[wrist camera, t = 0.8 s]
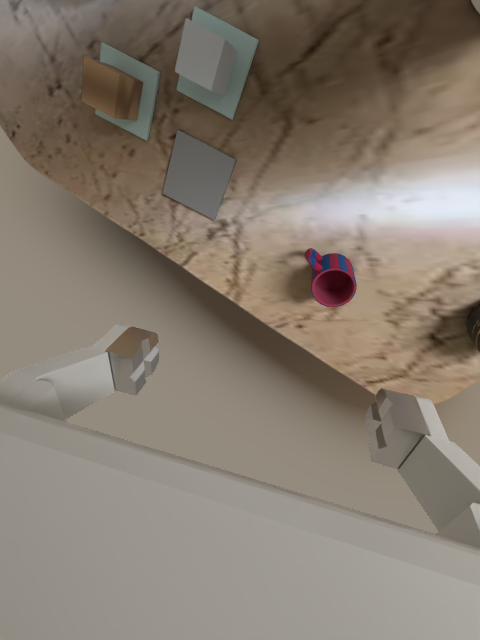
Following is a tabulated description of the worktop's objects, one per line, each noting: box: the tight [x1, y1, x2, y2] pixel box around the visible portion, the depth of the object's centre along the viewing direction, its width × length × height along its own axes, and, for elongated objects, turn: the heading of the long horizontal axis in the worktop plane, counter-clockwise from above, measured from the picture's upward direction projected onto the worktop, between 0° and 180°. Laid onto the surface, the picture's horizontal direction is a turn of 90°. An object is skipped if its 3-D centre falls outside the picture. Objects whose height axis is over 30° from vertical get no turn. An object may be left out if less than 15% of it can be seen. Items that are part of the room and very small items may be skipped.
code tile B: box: [176, 6, 259, 120], centre depth 39 cm, size 9×9×1 cm
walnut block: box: [81, 56, 143, 121], centre depth 41 cm, size 5×5×6 cm
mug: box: [305, 248, 357, 307], centre depth 47 cm, size 7×10×7 cm
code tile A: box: [95, 42, 161, 141], centre depth 43 cm, size 9×9×1 cm
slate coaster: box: [162, 130, 237, 220], centre depth 47 cm, size 10×10×1 cm
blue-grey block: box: [175, 18, 238, 97], centre depth 36 cm, size 5×5×6 cm
